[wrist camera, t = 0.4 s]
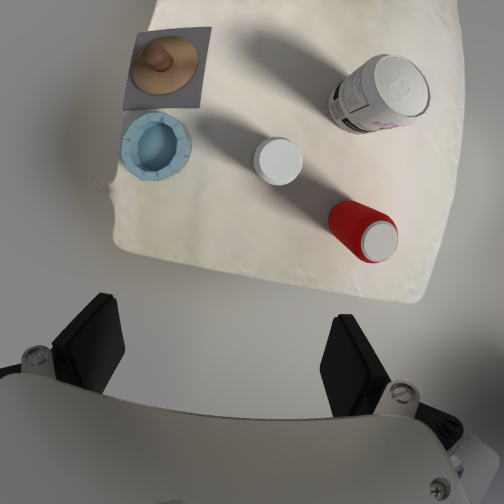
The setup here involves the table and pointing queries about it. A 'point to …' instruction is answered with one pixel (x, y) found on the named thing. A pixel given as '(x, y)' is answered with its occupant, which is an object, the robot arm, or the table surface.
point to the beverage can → (364, 231)
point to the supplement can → (380, 96)
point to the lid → (165, 65)
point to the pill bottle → (277, 161)
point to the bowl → (156, 147)
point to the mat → (185, 95)
